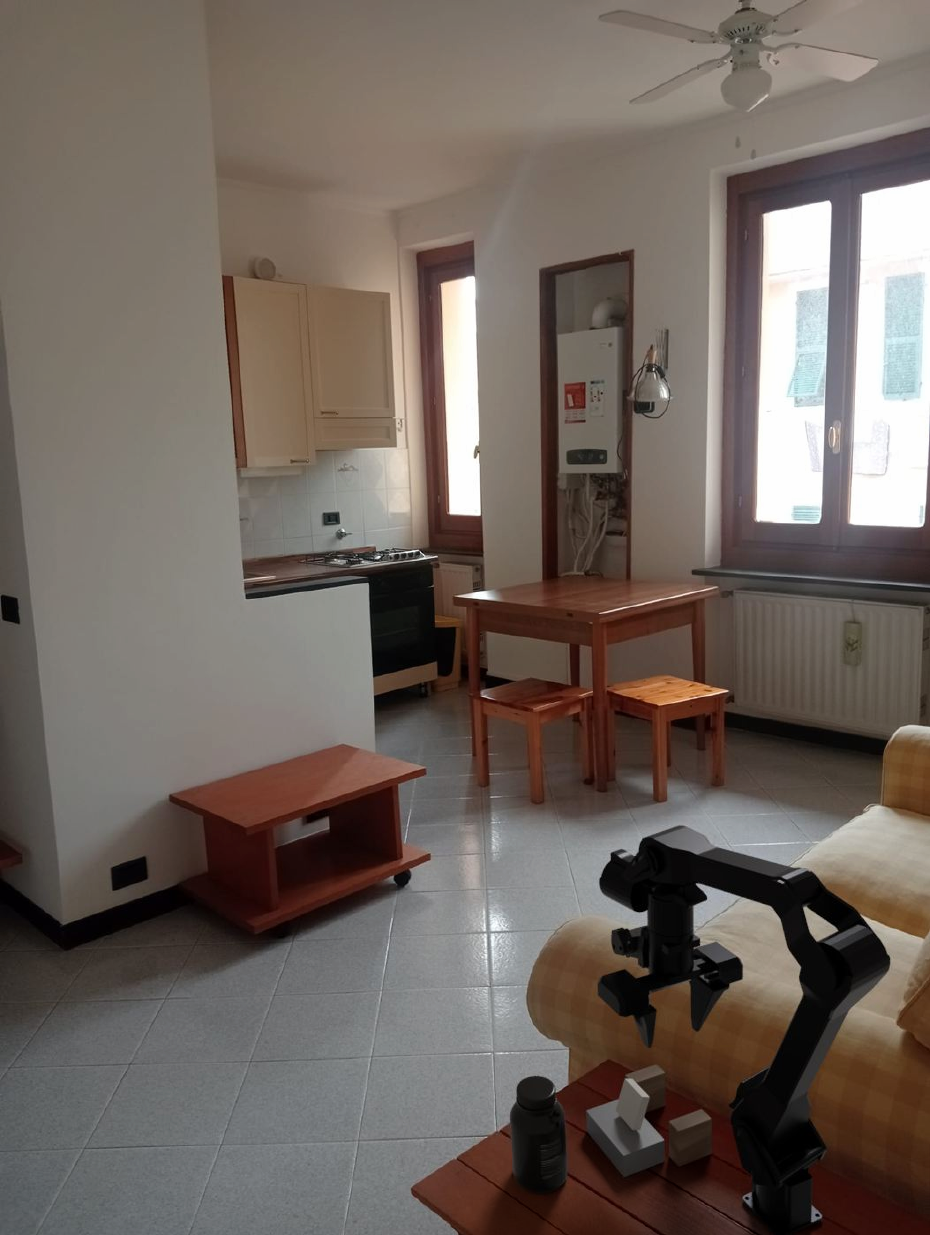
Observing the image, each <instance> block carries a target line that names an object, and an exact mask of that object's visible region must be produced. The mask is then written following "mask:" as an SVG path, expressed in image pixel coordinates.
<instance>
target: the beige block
mask: <svg viewBox="0 0 930 1235" xmlns="http://www.w3.org/2000/svg"><path fill="white" fill-rule="evenodd" d="M712 1123H713V1122H712V1118H711V1117H710V1115H708V1114H707V1113H706V1111H704V1110H703V1109H702V1108H701V1109H698V1110H695V1111H692V1112H690V1113H687V1114H685V1115H682V1116H680V1117H676V1118H674V1119H671V1120H669V1121H668V1148H669V1150H668V1156H669V1158H670V1159H671V1160H672V1161H673V1162H674V1163H675V1164H676V1166H677V1167H683V1166H685V1165H688V1164H690V1163H692V1162H695V1161H697V1160H700V1159H703V1158H704V1157H705V1158H706V1157H707V1156H710V1155H712V1152H713V1149H712V1146H713V1145H712V1143H713V1141H712V1140H713V1139H712V1138H713V1136H712V1133H713V1131H712V1130H713V1129H712V1127H713V1126H712V1125H713V1124H712Z"/></svg>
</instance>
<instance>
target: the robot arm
mask: <svg viewBox="0 0 930 1235" xmlns="http://www.w3.org/2000/svg"><path fill="white" fill-rule="evenodd" d="M598 884H599V889H600V892H601V893H602V894H603V896H605V897H607V898H608V899H610V900H612V901H614V902H616V903H618V904H620V905H622V906H624V907H626V908H628V909H629V910H631V911H633V912H635V913H638V914H640V913H645V912H646V915H647V917H646V918H647V920H646V922H647V923H646V924H647V925H643V926H639V927H635V928H631V929H629V928H624V927H618V928H615V929H612V930H611V936H610V938H611V939H610V942H611V948H612V951H613V953H614V954H615V955H618V956H623V957H624V956H625V958H627V959H629V958H635V959H637V965H638V966H640V968H642V969H647V971H648V972H647V973H648V974H647V975H646V974H645V975H643V976H639V977H635V976H634V975H633V974H632V973H631V972H629V970H627V969H626V968H623V969H619V970H617V971H613V972H610V973H607V974H603V975H601V976H600V977H599V978H598V980H597V996H598V997H599V998H600V999H601V1001H603V1002H604V1003H605V1004H606V1005H607V1006H608V1007H609V1008H610V1009H612V1010H613V1011H614V1012H615V1013H616V1014H617V1015H618V1017H621V1018H622V1017H623V1018H628V1017H630V1016H632V1017H633V1020H634V1022H635V1025H636V1027H637V1030H638V1033H639V1035H640V1038H641V1040H642V1043H643V1045H644V1046H645V1047H646V1048H647V1049H651V1048H652V1045H653V1041H654V1037H655V1029H656V1028H655V1027H656V1021H657V1020H656V1019H657V1012H658V1011H657V1010H658V1009H657V1008H656V1007H654V1006H653V1005H652V1004H651V1002H650V997H651V994H652V993H653V994H654V993H657V992H659V991H662V990H666V989H669V988H672V987H675V986H677V985H682V984H685V983H687V982H688V983H689V985H690V986H689V988H690V990H689V991H690V992H689V993H690V1021H691V1027H692V1030H694V1031H695V1032H698V1033H699V1032H700V1031H701V1029H702V1028H703V1025H704V1023H705V1022H706V1020H707V1019H708V1017H709V1015H710V1013H711V1012H712V1010H713V1008H714V1007H715V1005H716V1004H717V1002H718V1001H719V1000H720V998H721V997H722V995H723V994H724V992H725V991H727V990H729V989H730V986H731V984H733V983H736V982H739V981H743V978H744V964H743V962H742V960H741V958H740V957H739V956H738V955H736V954H734V953H733V952H732V951H731V950H729V949H728V948H726V947H725V946H723V945H722V944H720V943H719V942H718V941H714V942H710V943H706V944H704V945H701V938H700V937H699V936H697V935H696V934H695V932H694V931H695V930H694V929H695V928H694V927H695V925H694V924H695V923H694V922H695V921H694V920H695V919H694V907H695V906H696V905H698V904H702V903H704V902H706V901H708V895H707V894H706V893H705V891H703V890H702V889H701V888H700V887H699V886H698V884H699V885H702V886H706V887H710V888H712V889H715V890H718V891H722V892H724V893H728V894H729V895H730V894H731V895H733V896H737V897H740V898H743V899H745V900H749V901H751V902H755V903H760V904H762V905H765V906H768V907H771V908H772V910H773V911H774V913H775V914H776V915H777V917H778V919H780V923H781V927H782V931H783V934H784V935H783V936H784V939H785V943H786V947H787V949H788V952H790V954H791V956H792V957H793V958H794V959H795V961H796V962H797V964H798V965H799V967H800V970H799V974H798V982H799V983H800V984H799V985H800V988H801V990H802V996H801V999H800V1001H799V1003H798V1006H797V1007H796V1009H795V1012H794V1014H793V1016H792V1019H791V1021H790V1023H789V1024H788V1027H787V1029H786V1031H785V1033H784V1035H783V1037H782V1038H781V1039H782V1040H781V1041H780V1044H779V1046H778V1048H777V1050H776V1052H775V1054H774V1056H773V1059H772V1061H771V1063H770V1064H769V1065H768V1066H766V1067H765V1068H763V1069H761V1070H760V1071H758V1072H756V1073H755V1074H753V1075H752V1076H749V1077H748V1078H746V1079H744V1080H742V1081H741V1082H739V1084H738V1086H737V1088H736V1093H735V1097H734V1100H732V1101H731V1102H730V1103H729V1104H728V1107H729V1108H730V1109H732V1110H731V1113H730V1116H729V1118H730V1120H729V1122H730V1126H732V1133H733V1138H734V1140H735V1141H734V1142H735V1145H736V1150H737V1153H738V1157H739V1159H740V1165H741V1168H742V1169H743V1170H744V1171H745V1172H746V1173H748V1174H749V1176H750V1177H751V1189H752V1191H751V1192H748V1193H747V1194H745V1195H743V1196H742V1203H743V1204H744V1205H745V1206H746V1207H747V1208H748V1209H749V1210H750V1212H752V1214H753V1215H755V1217H756V1218H758V1220H759V1221H760V1222H761V1223H762V1224H763V1225H764V1226H765V1228H767V1230H769V1232H770V1233H771V1234H772V1235H794V1234H796V1233H798V1232H800V1231H803V1230H805V1229H807V1228H809V1227H812V1226H814V1225H816V1224H818V1223H820V1222H822V1221H823V1214H822V1213H820V1211H819V1210H818V1209H816V1208H815V1206H813V1176H812V1174H811V1173H809V1172H810V1171H809V1167H811V1166H813V1165H814V1164H815V1163H817V1162H821V1160H823V1158H824V1156H825V1154H826V1153H827V1150H828V1148H827V1145H826V1142H824V1140H823V1139H822V1136H821V1135H820V1133H819V1132H818V1130H817V1128H816V1126H815V1125H814V1123H813V1121H812V1120H811V1118H810V1114H811V1110H812V1105H811V1101H810V1099H809V1096H808V1093H809V1090H810V1088H811V1086H812V1084H813V1082H814V1081H815V1078H816V1077H817V1075H818V1073H819V1071H820V1068H821V1066H822V1064H823V1063H824V1061H825V1059H826V1057H827V1054H828V1053H829V1051H830V1049H831V1047H832V1045H833V1043H834V1041H835V1039H836V1037H837V1035H838V1033H839V1031H840V1029H841V1027H842V1025H843V1023H844V1021H845V1019H846V1018H847V1015H848V1013H849V1011H850V1010H851V1009H853V1007H854V1006H856V1004H858V1003H859V1002H860V1001H861V1000H862V999H863V998H864V997H865V996H866V995H867V994H868V993H870V992H871V991H872V990H873V989H875V986H877V985H878V984H879V982H881V980H882V979H883V978H884V977H885V976H886V975H887V973H888V972H889V970H890V967H891V956H890V954H888V952H887V949H886V946H885V945H884V943H883V942H882V939H880V937H879V936H878V935H877V934H876V933H875V931H874V929H872V928H871V926H870V925H869V924H868V922H867V921H866V920H865V919H864V917H863V916H862V915H861V913H860V912H859V911H858V910H857V909H856V908H855V907H854V906H853V905H851V904H849V902H847V901H845V900H843V899H842V898H841V897H839V896H838V895H836V894H834V893H833V892H832V891H830V890H829V889H827V887H826V886H825V885H824V883H823V882H822V881H821V880H820V878H819V877H818V876H817V875H816V874H815V873H814V872H813V871H812V870H811V869H809V868H806V867H805V868H804V867H799V866H798V867H793V866H788V865H786V864H780V863H777V862H773V861H769V860H767V859H762V858H759V857H755V856H752V855H748V854H743V853H741V852H737V851H734V850H733V851H732V850H729V849H726V848H722V847H719V846H716V845H714V844H712V843H711V842H710V841H709V839H708V837H707V836H706V835H704V834H703V833H701V832H700V831H699V832H698V831H696V830H695V829H692V828H691V827H689V826H687V825H686V826H685V825H683V824H682V825H681V824H679V825H675V826H673V827H670V828H668V829H665V830H662V831H658V832H657V833H653V834H651V835H648V836H644V837H642V839H641V841H640V842H639V844H638V851H637V853H636V854H635V855H634V854H631V853H630V852H629V851H627V850H626V849H623V848H619V849H617V850H614V851H612V852H610V860H609V861H608V862H607V863H606V865H605V866H604V868H603V869H602V872H601V874H600V877H599V879H598ZM804 908H807V909H808V910H810V911H811V912H812V913H814V914H816V915H817V916H818V917H819V918H821V919H823V920H824V921H825V922H827V923H829V924H830V925H832V926H833V927H835V929H836V930H837V931H836V932H833V933H832V934H829V935H827V936H825V937H823V938H821V939H820V940H816V938H815V937H814V936H813V935H812V933H811V931H810V929H809V925H808V920H807V917H806V913H805V910H804Z"/></svg>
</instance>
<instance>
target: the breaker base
mask: <svg viewBox="0 0 930 1235" xmlns="http://www.w3.org/2000/svg"><path fill="white" fill-rule="evenodd" d="M618 1100H619V1098H617V1099H615V1100H612V1101H609V1102H607V1103H604V1104H601V1105H598V1106H595V1107H592V1108H589V1109H587V1110H585V1114H586V1115H585V1117H586V1118H585V1119H586V1122H585V1123H586V1132H587V1133H588V1134H589V1136H590V1137H591V1138H592V1139H593V1141H594V1142H595V1143H596V1144H597V1145H598V1147H599V1148H600V1149H601V1151H602V1152H603V1153H604V1154H605V1156H606V1157H607V1158H608V1159H609V1161H610V1162H611V1163H612V1164H613V1165H614V1167H615V1168H616V1169H617V1171H618V1172H619V1173H620V1174H621V1175H622V1177H623V1178H626V1177H629V1176H631V1175H633V1174H636V1173H638V1172H641V1171H644V1170H646V1169H648V1168H652V1167H654V1166H656V1165H659V1164H662V1163H664V1162H665V1161H666V1153H665V1152H666V1149H665V1148H666V1142H665V1141H666V1140H665V1139H664V1138H663V1136H662V1135H661V1134H660V1133H659V1132H658V1131H657V1130H656V1129H655V1128H654V1127H653V1125H652V1124H651V1123H650V1122H649V1120H648V1119H646V1118H645V1117H644V1119H643V1122H642V1126H641V1129H640V1130H632V1129H631V1128H630V1127H629V1125H628V1124H627V1123H626V1122H625V1121H624V1120H623V1119H622V1117H621V1116H620V1115H619V1114H618V1113H617V1112H616V1107H617V1104H618Z"/></svg>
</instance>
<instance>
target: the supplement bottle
mask: <svg viewBox="0 0 930 1235" xmlns="http://www.w3.org/2000/svg"><path fill="white" fill-rule="evenodd" d="M515 1090H516V1091H515V1092H516V1099H515V1102H514V1103H513V1105H512V1107H511V1109H510V1112H509V1124H510V1125H509V1127H510V1141H511V1142H510V1144H511V1158H512V1160H511V1161H512V1173H513V1177H514V1179H515V1182H517V1184H518V1186H520V1187H521V1188H522V1189H523V1190H525V1191H527V1192H530V1193H534V1194H547V1193H551V1192H554V1191H556V1190H558V1189H559V1188H560V1187H561V1186H562V1185H563V1184H564V1183H565V1181H566V1180H567V1177H568V1173H569V1172H568V1171H569V1170H568V1147H567V1128H566V1126H567V1124H566V1114H565V1109H564V1107H563V1106H562V1104H561V1103H560V1102H559V1101H558V1100H557V1093H556V1091H557V1090H556V1086H555V1084H554V1082H553V1080H550V1079H549V1078H547V1077H545V1076H542V1075H532V1076H527V1077H524V1078H523V1079H521V1081H519V1082H518V1083H517V1085H516V1089H515Z"/></svg>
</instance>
